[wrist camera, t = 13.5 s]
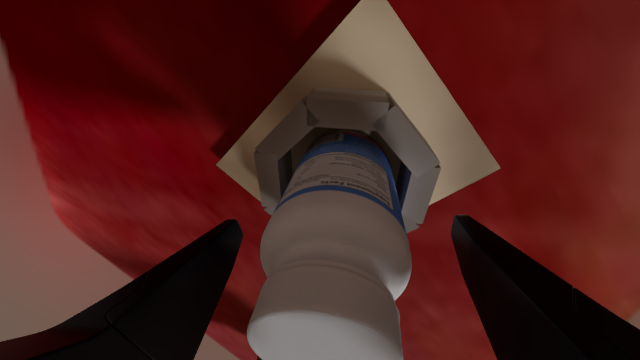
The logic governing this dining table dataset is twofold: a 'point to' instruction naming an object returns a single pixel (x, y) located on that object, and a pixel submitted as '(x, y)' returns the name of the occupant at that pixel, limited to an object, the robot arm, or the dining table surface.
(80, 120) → the dining table surface
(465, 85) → the dining table surface
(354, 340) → the pill bottle
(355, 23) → the collar
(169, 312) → the robot arm
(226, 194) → the dining table surface
